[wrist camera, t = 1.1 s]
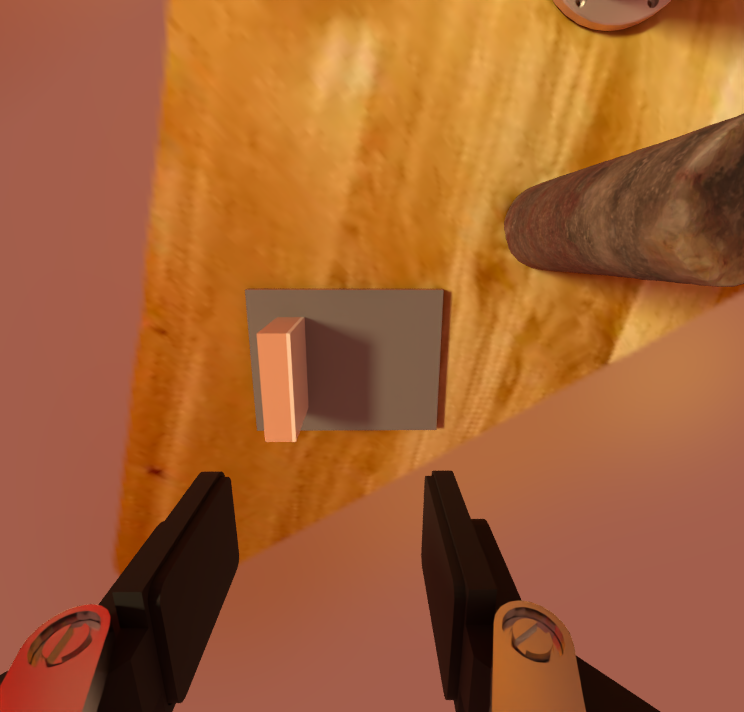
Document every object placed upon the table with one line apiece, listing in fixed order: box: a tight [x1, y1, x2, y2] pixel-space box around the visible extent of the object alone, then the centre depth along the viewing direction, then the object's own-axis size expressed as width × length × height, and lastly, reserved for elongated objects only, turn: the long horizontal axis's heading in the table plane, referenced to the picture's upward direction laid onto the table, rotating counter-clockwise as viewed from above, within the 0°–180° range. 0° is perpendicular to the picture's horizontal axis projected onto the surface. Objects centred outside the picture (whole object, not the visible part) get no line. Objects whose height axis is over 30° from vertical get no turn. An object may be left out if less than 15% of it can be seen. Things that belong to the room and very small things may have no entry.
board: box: [245, 289, 443, 431], centre depth 38 cm, size 18×14×1 cm
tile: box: [257, 317, 309, 442], centre depth 34 cm, size 2×9×7 cm, turn 0°
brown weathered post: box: [504, 114, 744, 287], centre depth 25 cm, size 8×7×20 cm
